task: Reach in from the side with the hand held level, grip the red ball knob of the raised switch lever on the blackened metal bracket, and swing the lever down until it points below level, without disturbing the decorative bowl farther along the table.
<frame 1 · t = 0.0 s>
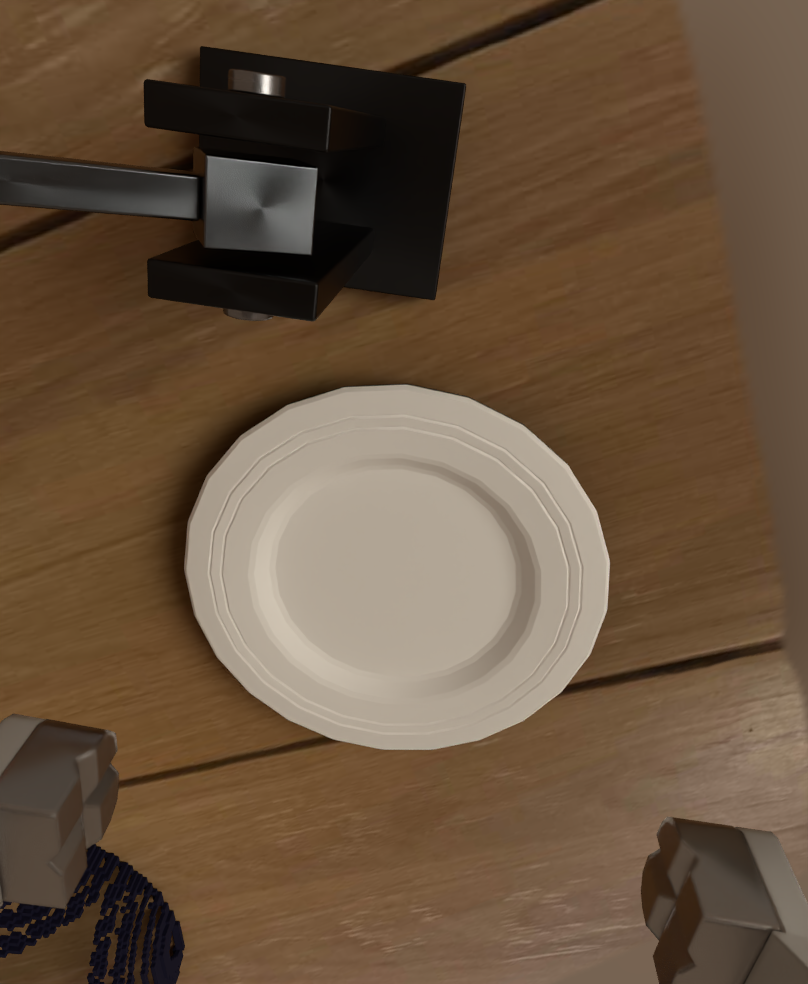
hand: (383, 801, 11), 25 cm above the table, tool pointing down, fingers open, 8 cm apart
switch bracket: (328, 178, 31), on the table
plate: (396, 569, 39), on the table
lever: (36, 181, 18), point 14 cm above the table, hinge at 25.0°
decorative bowl: (44, 921, 53), on the table
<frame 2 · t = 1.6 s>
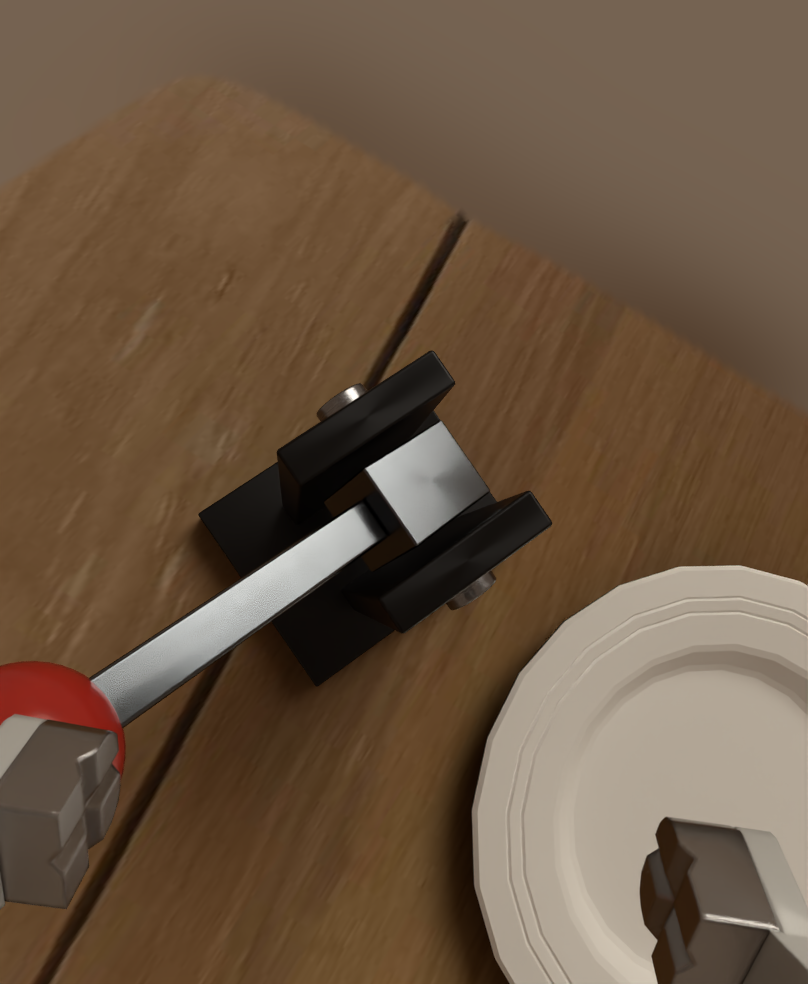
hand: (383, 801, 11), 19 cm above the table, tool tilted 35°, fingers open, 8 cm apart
switch bracket: (361, 528, 31), on the table
plate: (701, 813, 32), on the table
lever: (243, 608, 16), point 14 cm above the table, hinge at 24.9°, touching gripper
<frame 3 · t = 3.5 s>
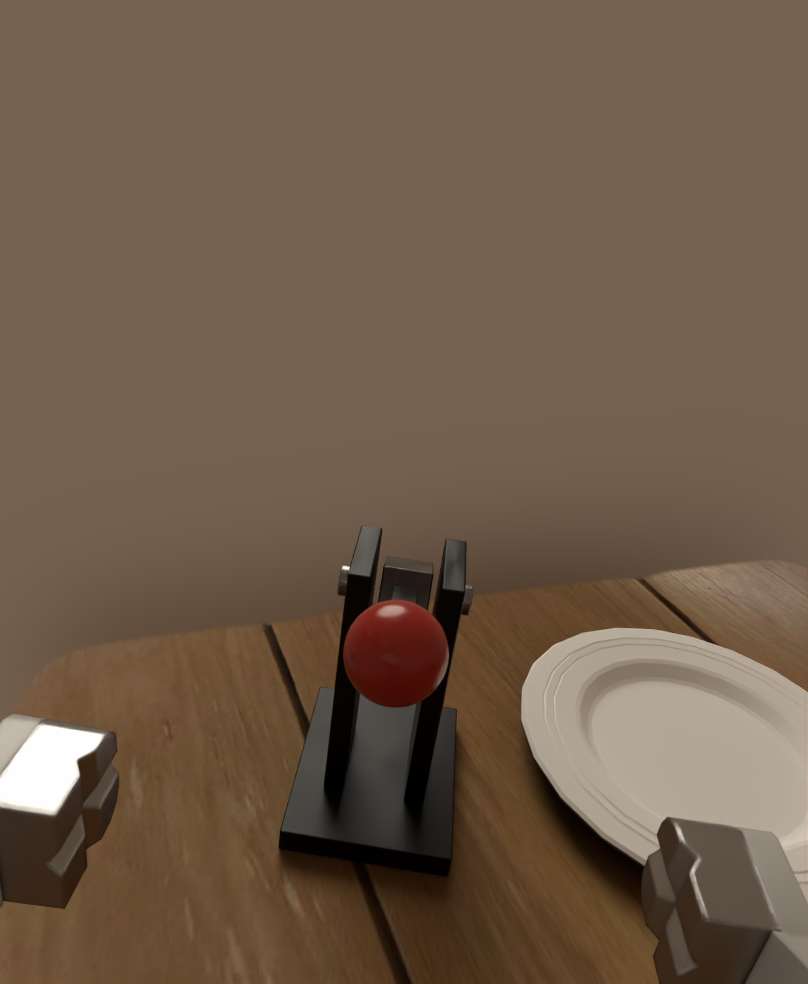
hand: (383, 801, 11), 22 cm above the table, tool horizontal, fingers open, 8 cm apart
switch bracket: (375, 779, 40), on the table
plate: (691, 765, 44), on the table
lever: (401, 617, 29), point 14 cm above the table, hinge at 21.8°
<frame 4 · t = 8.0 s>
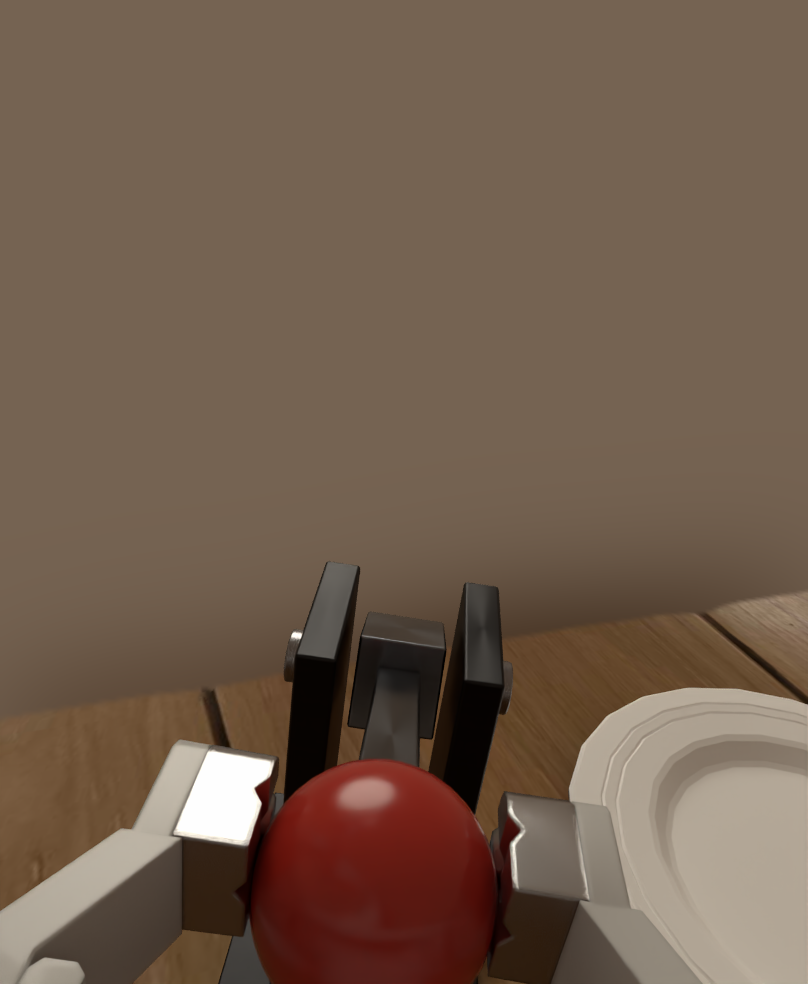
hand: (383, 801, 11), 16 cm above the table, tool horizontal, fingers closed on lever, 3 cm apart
switch bracket: (355, 950, 26), on the table
lever: (389, 748, 15), point 14 cm above the table, hinge at 21.8°, touching gripper
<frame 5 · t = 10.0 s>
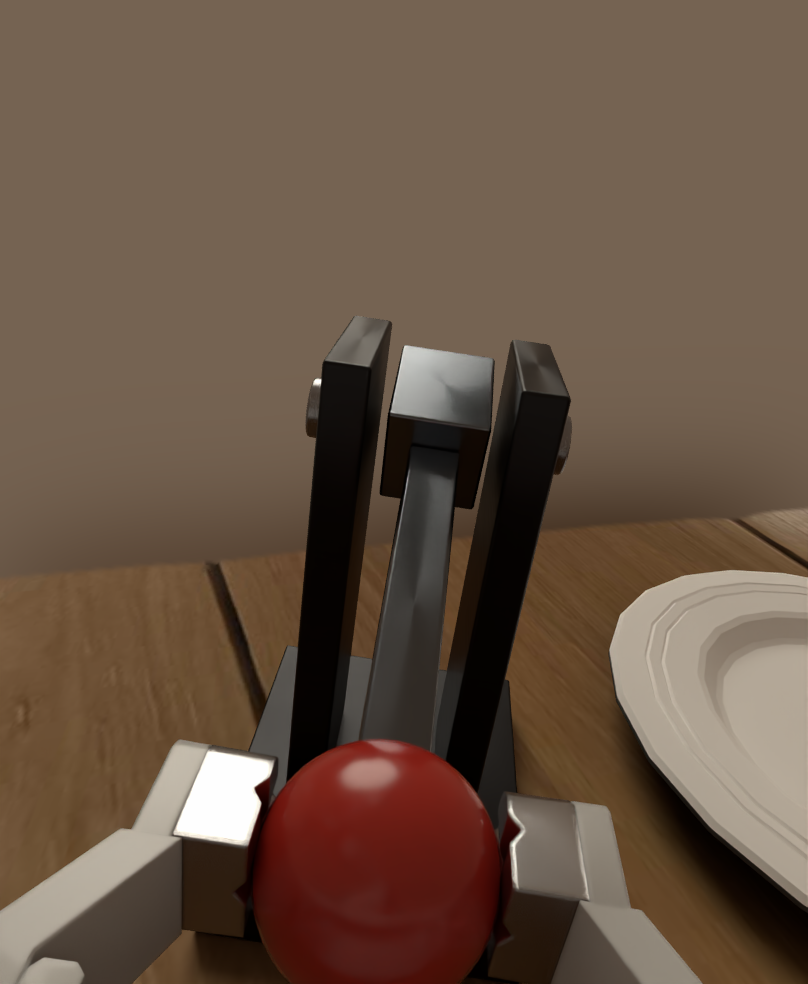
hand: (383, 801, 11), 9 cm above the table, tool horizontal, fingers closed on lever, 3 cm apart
switch bracket: (378, 797, 23), on the table
lever: (414, 595, 14), point 10 cm above the table, hinge at -17.7°, touching gripper
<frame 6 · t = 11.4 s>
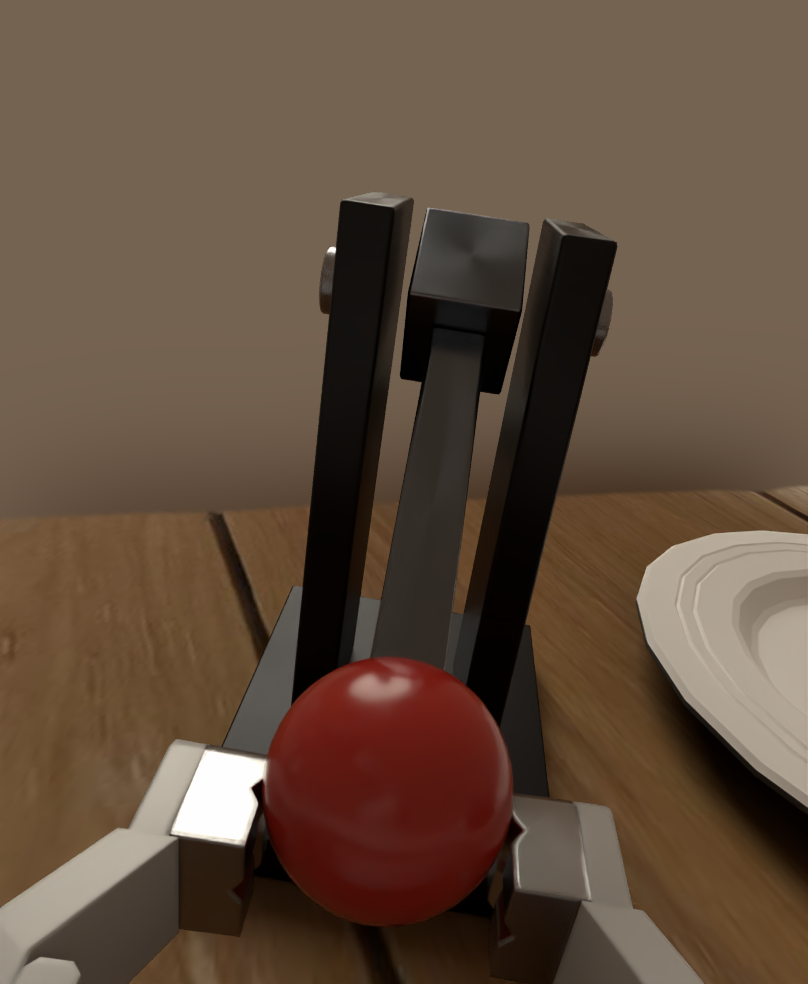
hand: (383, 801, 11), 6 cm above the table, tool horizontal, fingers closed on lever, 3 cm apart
switch bracket: (390, 736, 21), on the table
lever: (433, 497, 13), point 9 cm above the table, hinge at -31.0°, touching gripper
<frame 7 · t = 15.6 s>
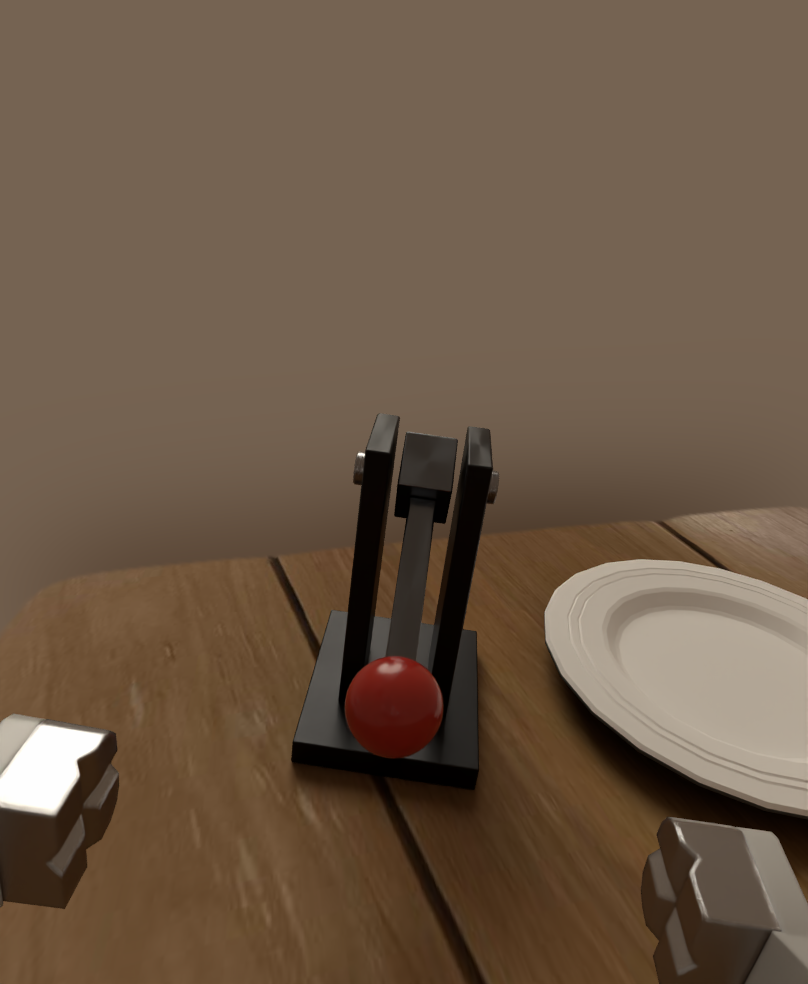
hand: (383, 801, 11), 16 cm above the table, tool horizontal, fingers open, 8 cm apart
switch bracket: (393, 698, 37), on the table
plate: (726, 689, 41), on the table
lever: (411, 583, 29), point 10 cm above the table, hinge at -28.5°
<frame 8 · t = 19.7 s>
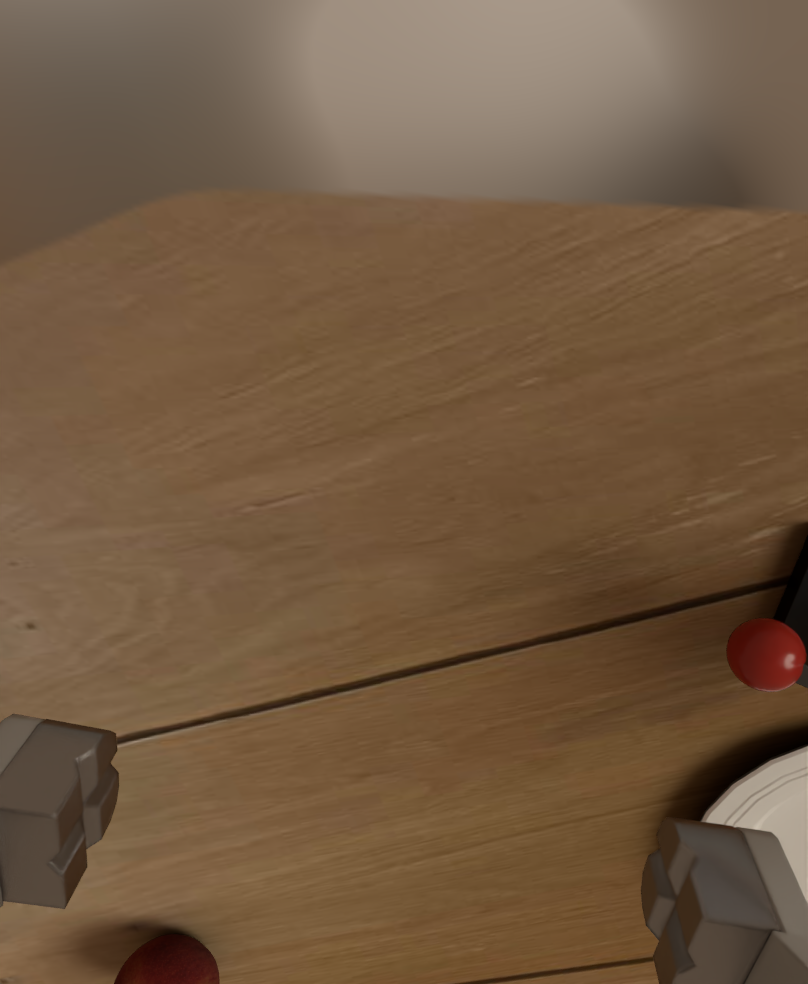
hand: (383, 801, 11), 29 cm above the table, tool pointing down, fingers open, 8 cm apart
apple: (185, 942, 60), on the table
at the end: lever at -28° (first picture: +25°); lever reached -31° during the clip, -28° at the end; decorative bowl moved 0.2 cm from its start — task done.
